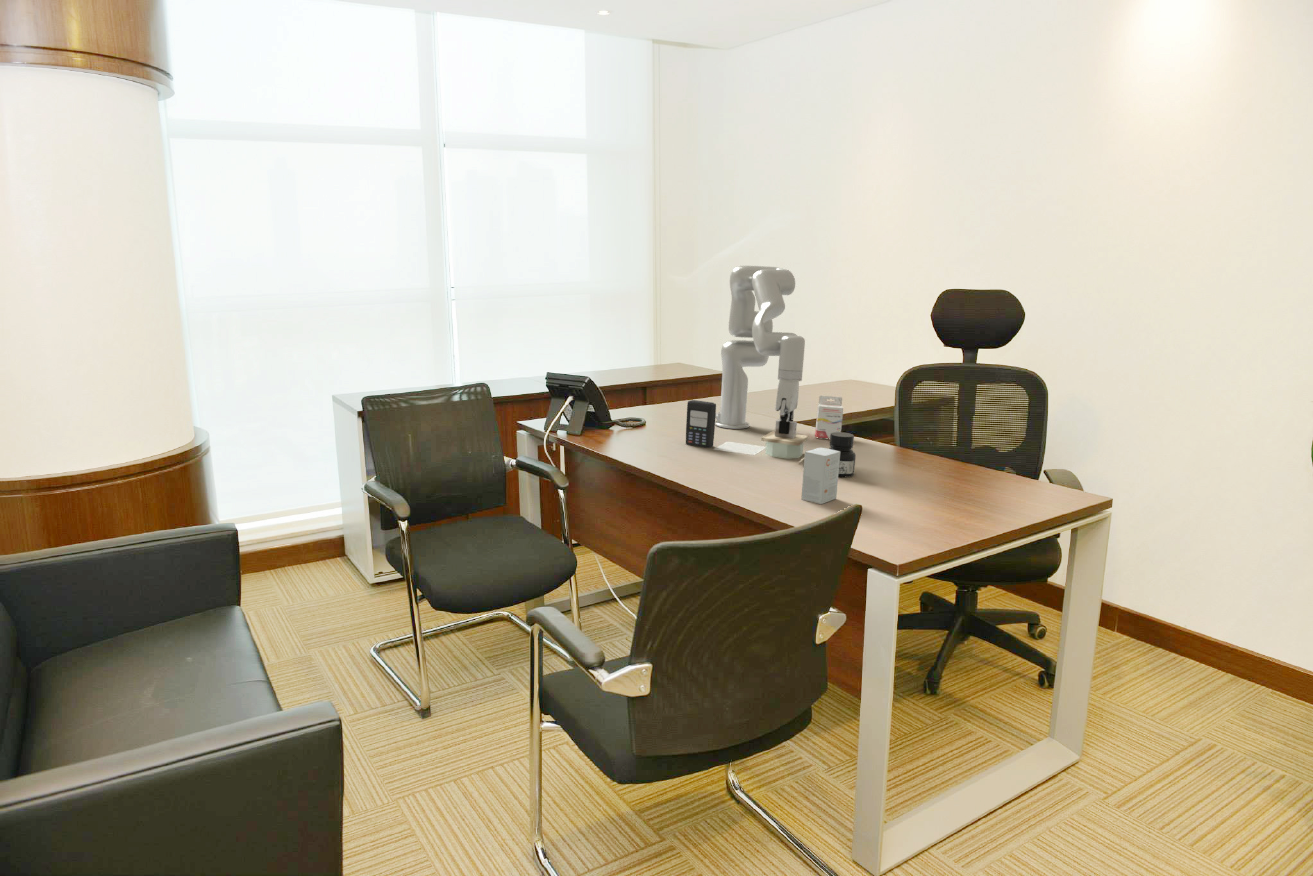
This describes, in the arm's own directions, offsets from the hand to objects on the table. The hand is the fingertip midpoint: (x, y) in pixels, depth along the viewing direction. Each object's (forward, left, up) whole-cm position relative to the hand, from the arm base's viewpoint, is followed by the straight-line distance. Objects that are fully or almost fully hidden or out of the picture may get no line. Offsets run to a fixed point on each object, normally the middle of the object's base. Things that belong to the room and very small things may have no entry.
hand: (785, 431), depth 272 cm
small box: (+22, -44, -8) cm, 50 cm away
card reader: (-27, -4, -8) cm, 29 cm away
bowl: (0, 0, -8) cm, 8 cm away
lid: (0, 0, -3) cm, 3 cm away
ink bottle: (+21, -14, -8) cm, 26 cm away
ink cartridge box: (+6, +36, -8) cm, 37 cm away
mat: (-14, 0, -8) cm, 16 cm away
